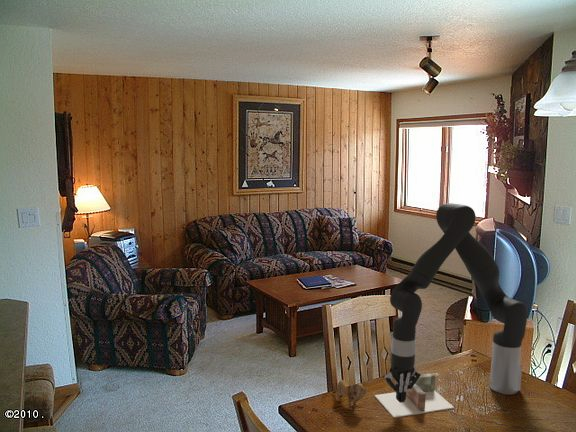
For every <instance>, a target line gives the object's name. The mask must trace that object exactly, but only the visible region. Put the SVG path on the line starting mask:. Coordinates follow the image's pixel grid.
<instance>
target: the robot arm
mask: <svg viewBox="0 0 576 432" xmlns="http://www.w3.org/2000/svg"><path fill="white" fill-rule="evenodd" d="M435 218H436V222H437V225H438V227H439V228H440V230H441V231H442V232H443V233H444V234H443V235H442V236H441V237H440V239H438V241H437V242H436V243H434V244H433V245H432V246H431V247H430V248H428V249H427V250H426V251H425V252H423V253H422V254H421V255H420V257H418V259H417V261H416V262H415V264H414V265H413V266H412V268H411V270H410V272H409V273H408V274H407V276H405V277H404V278H403V279H402V280H401V281H400V282H399V283H397V284H396V286H395V287H394V288H393V290H392V291H391V293H390V296H389V302H390V305H391V306H392V307H393V308H394V309H396V310H398V311H400V312H401V316H400V317H397V318H395V319H394V320H393V324H392V325H393V326H392V338H391V345H390V347H391V349H390V369H389V372H388V373H387V374H384V375H383V376H382V378H383V379H384V381H385V382H386V383H387V384H388V386H389V387H390V388H391V389H392V390H393V391H394V392H396V399H397V400H398V401H399V402H400V403H402V402H404V401H405V399H406V391H407V390H408V389H412V387H413V386H414V384H415V383H416V381H417V380H418V379H419V377H420V376H421V375H422V374H421V373H420V372H418V371H417V370H416V369H415V365H416V364H415V362H416V346H417V345H416V332H417V331H416V327H417V324H418V321H419V319H420V316H421V312H422V309H423V301H422V299H421V296H419V294H418V293H416V291H418V290H425V289H427V288H428V287H430V285H431V284H432V283H431V282H432V281H433V280H434V278H435V276H436V275H437V273H438V272H439V269H440V268H441V266H442V265H443V264H444V263H445V261H446V260H447V258H448V257H449V256H450V255H451V254H452V253H453V251H454V250H455V251H456V253H457V254H458V256H459V258H460V259H461V261H462V263H463V264H464V267H465V268H466V270H467V272H468V274H469V275H470V277H471V278H472V280H473V281H474V283H475V285H476V286H477V288H478V290H479V292H480V293H481V295H482V297H483V300H484V302H485V303H486V306H487V308H488V309H487V310H488V311H489V313H490V315H491V316H492V318H494V320H496V321H498V322H500V323H501V324H503V330H498V331H495V332H494V333H493V334H492V335H493V337H492V348H491V349H492V350H491V364H490V377H489V387H490V389H491V390H493V391H494V392H496V393H499V394H502V395H516V394H517V393H518V392H519V391H521V385H522V384H521V383H522V375H523V374H522V372H523V371H522V370H523V366H522V364H521V356H522V355H521V354H522V342H523V340H524V338H525V334H526V329H527V322H528V309H527V305H526V304H524V303H523V302H521V301H519V300H517V299H515V298H511V297H510V296H508V295H507V294H506V293H505V292H504V290H503V289H502V287H501V285H500V283H499V282H500V281H499V279H500V269H499V266H498V264H497V262H496V260H495V258H494V257H493V255H492V253H491V252H490V251H489V249H488V248H486V247H485V245H483V243H482V242H480V241H479V240H478V239H477V238H475V237H474V236H473V235H472V233H470V231H471V230H472V228H473V227H474V226H475V223H476V218H477V217H476V213H475V210H474V209H473V208H472V207H470V206H469V205H465V204H461V203H460V204H459V203H454V202H453V203H449V202H447V203H443V204H441V205H440V206H439V207H438V208H437V211H436V215H435ZM393 380H394V382H393ZM411 381H412V382H411Z"/></svg>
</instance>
